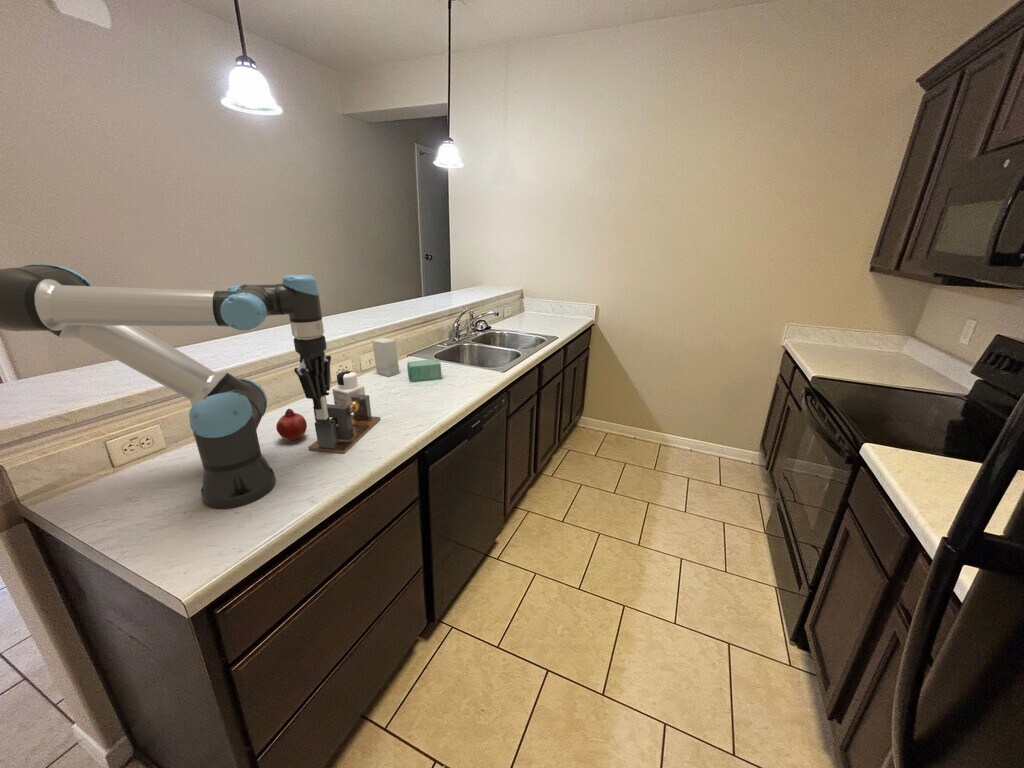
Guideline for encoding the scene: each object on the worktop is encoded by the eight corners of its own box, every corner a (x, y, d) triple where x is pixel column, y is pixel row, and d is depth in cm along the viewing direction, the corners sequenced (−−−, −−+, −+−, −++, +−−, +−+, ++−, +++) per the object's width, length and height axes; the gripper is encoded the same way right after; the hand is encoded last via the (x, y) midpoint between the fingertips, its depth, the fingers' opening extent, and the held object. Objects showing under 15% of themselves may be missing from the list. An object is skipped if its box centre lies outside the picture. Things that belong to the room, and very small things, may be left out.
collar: (349, 440, 121) (345, 409, 117) (318, 437, 122) (313, 406, 119) (353, 436, 123) (349, 405, 120) (323, 433, 124) (318, 403, 121)
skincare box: (399, 373, 184) (396, 339, 179) (388, 377, 179) (385, 342, 174) (386, 370, 188) (383, 337, 183) (375, 374, 183) (371, 340, 178)
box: (407, 377, 180) (406, 361, 177) (438, 374, 184) (438, 358, 181) (410, 383, 173) (408, 366, 171) (441, 379, 178) (441, 363, 175)
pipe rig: (344, 453, 117) (340, 425, 114) (309, 450, 119) (304, 422, 116) (380, 419, 139) (377, 395, 136) (350, 417, 140) (347, 393, 137)
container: (334, 408, 147) (329, 374, 143) (351, 401, 154) (347, 368, 149) (350, 412, 144) (345, 377, 139) (366, 405, 150) (362, 371, 146)
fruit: (315, 435, 128) (309, 405, 125) (295, 447, 121) (289, 416, 117) (293, 431, 130) (288, 402, 127) (273, 443, 123) (266, 412, 119)
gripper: (306, 343, 100) (321, 429, 109) (336, 331, 113) (347, 409, 121) (278, 341, 102) (295, 427, 110) (311, 330, 114) (323, 408, 122)
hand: (322, 418), depth 115 cm, fingers closed
